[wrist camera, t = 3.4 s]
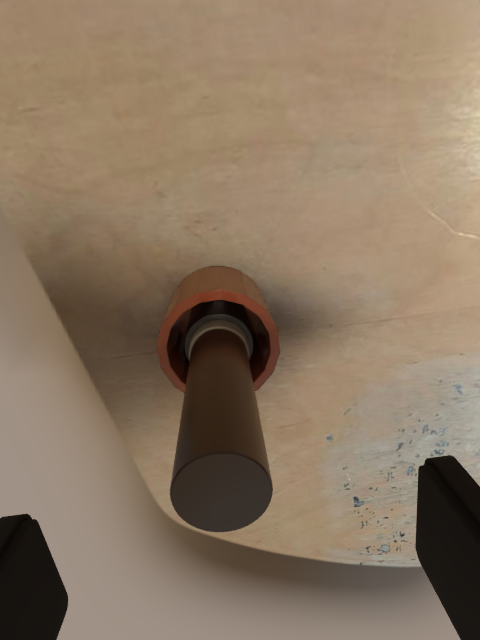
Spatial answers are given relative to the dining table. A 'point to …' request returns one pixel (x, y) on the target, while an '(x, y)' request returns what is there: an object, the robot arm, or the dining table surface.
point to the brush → (220, 425)
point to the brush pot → (211, 288)
